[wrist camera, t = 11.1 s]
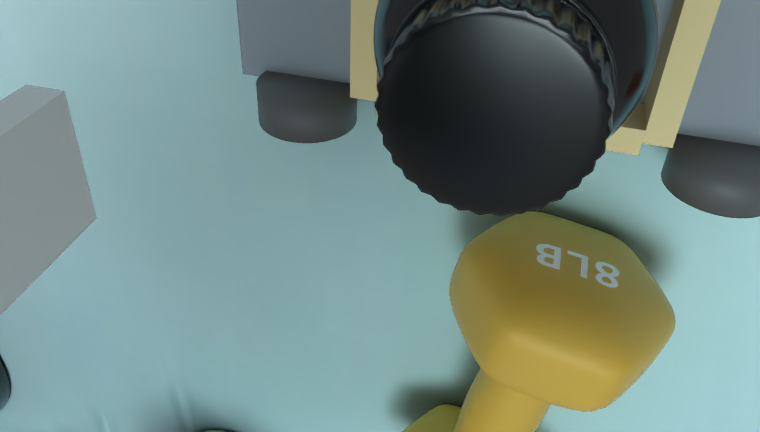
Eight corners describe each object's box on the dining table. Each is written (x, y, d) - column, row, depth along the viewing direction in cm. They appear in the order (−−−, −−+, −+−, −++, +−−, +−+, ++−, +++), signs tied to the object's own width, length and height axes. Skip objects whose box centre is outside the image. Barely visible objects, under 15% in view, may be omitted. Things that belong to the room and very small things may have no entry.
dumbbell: (485, 172, 31) (452, 295, 24) (686, 241, 30) (706, 385, 24) (389, 419, 42) (350, 545, 36) (532, 472, 42) (517, 610, 35)
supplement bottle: (639, 48, 24) (655, 268, 15) (445, 55, 26) (353, 253, 17) (653, -176, 20) (686, -69, 11) (424, -147, 22) (290, -36, 13)
